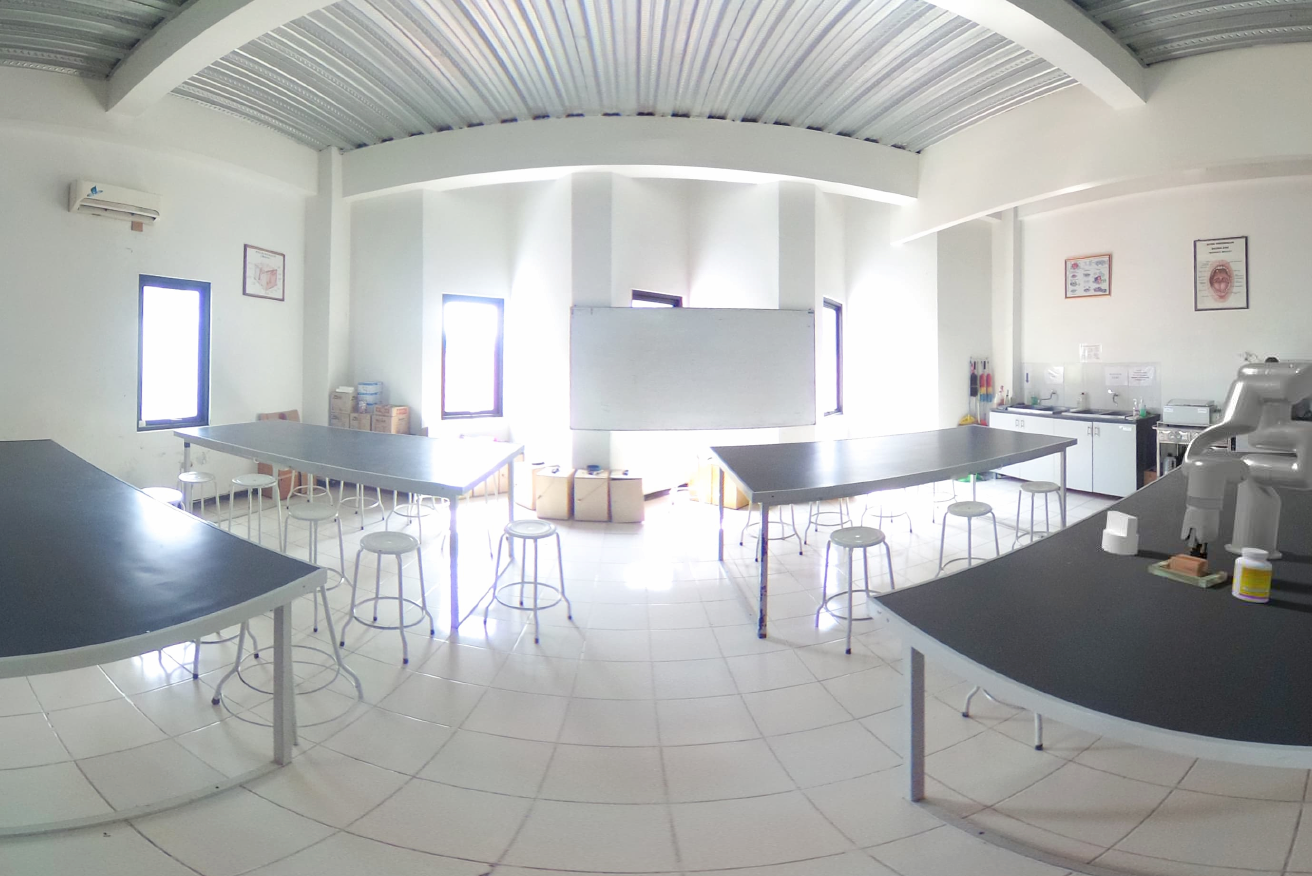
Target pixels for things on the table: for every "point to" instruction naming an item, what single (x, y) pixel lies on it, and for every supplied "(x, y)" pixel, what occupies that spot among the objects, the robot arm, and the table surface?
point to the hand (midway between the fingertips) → (1197, 564)
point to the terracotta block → (1189, 565)
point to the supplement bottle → (1252, 576)
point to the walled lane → (1186, 575)
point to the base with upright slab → (1120, 534)
